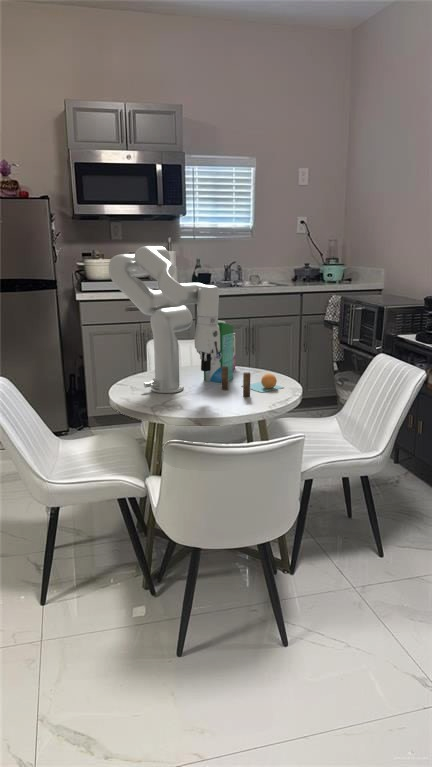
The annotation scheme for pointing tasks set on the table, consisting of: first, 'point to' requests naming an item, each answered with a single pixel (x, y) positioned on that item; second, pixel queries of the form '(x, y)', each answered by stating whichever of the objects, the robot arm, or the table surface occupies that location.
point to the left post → (224, 377)
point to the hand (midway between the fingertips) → (205, 370)
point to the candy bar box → (233, 351)
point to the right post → (246, 384)
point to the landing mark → (260, 387)
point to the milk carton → (222, 355)
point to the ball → (268, 381)
